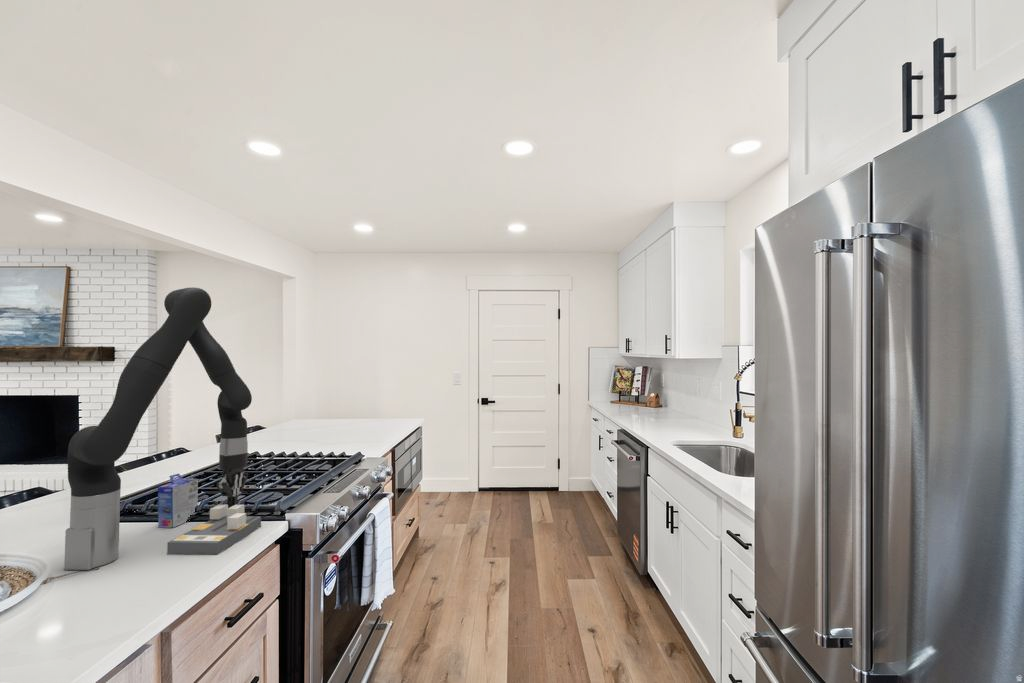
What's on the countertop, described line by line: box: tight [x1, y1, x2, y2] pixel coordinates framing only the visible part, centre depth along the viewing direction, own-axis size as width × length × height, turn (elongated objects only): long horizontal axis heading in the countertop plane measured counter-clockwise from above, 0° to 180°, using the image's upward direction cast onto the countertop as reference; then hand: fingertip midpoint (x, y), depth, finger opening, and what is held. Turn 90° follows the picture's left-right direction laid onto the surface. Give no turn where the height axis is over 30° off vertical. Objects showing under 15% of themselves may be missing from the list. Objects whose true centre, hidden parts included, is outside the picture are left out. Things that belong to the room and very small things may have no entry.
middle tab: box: [227, 504, 245, 519], centre depth 137 cm, size 4×3×3 cm
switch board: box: [166, 515, 262, 556], centre depth 129 cm, size 20×14×3 cm
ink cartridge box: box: [157, 473, 199, 529], centre depth 143 cm, size 10×6×14 cm, turn 174°
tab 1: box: [209, 504, 228, 520], centre depth 138 cm, size 4×3×3 cm
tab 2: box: [227, 512, 247, 529], centre depth 130 cm, size 4×3×3 cm
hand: (232, 508), depth 144 cm, fingers closed
